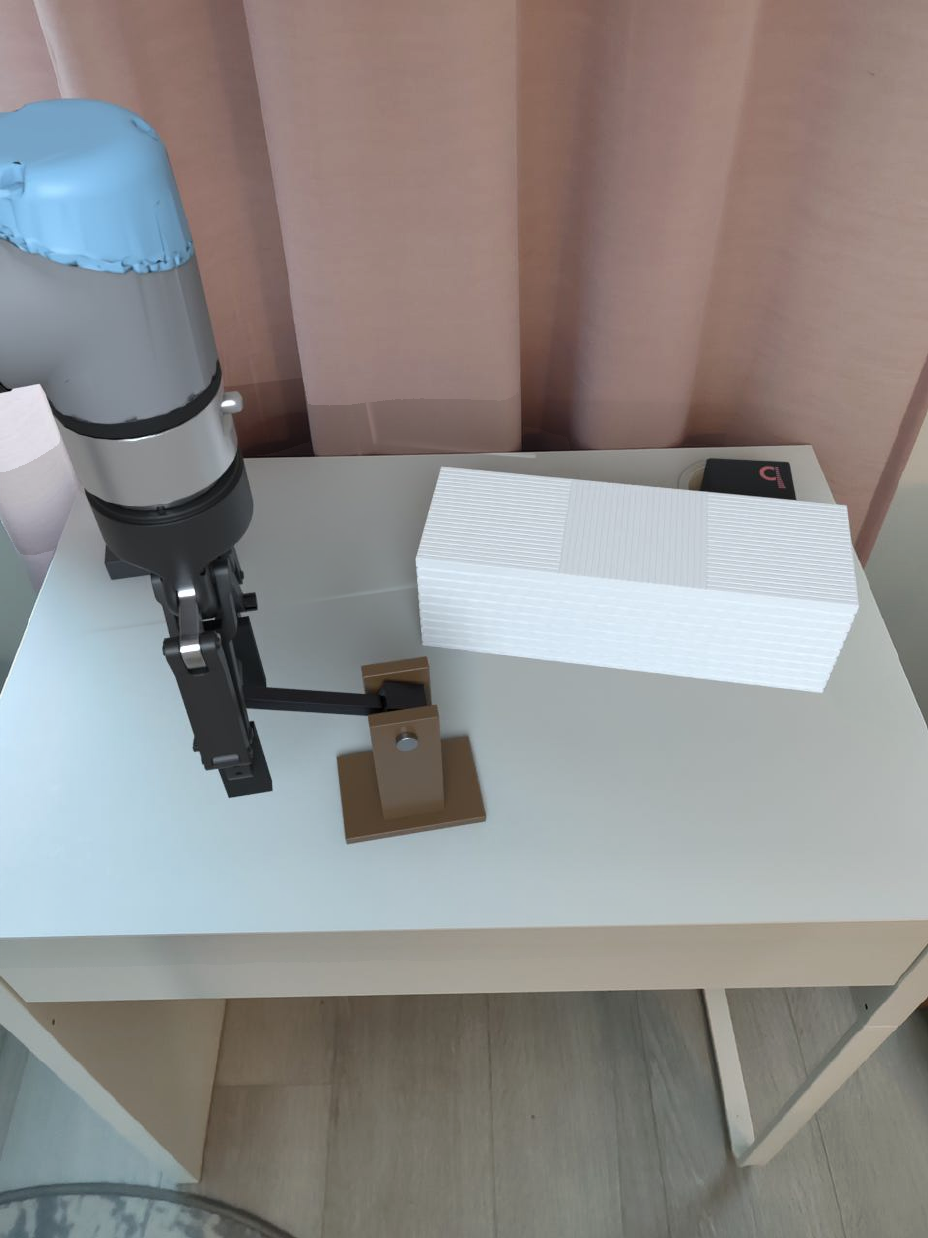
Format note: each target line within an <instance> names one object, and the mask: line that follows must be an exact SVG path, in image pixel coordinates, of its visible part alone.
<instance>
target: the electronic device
mask: <svg viewBox="0 0 928 1238" xmlns="http://www.w3.org/2000/svg"><path fill="white" fill-rule="evenodd" d="M794 485H795V484H794V479H793V474H792V468H791V464H790V463H789V461H777V460H776V461H775V460H755V459H736V458H735V459H733V458H715V457H714V458H712V457H710V458H707V459H706V460H705V464H704V470H703V475H702V479H701V484H700V488H699V491H704V492H714V493H724V494H735V495H745V496H756V497H766V498H776V499H787V500H797V495H796V489H795V486H794Z"/></svg>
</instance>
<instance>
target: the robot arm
mask: <svg viewBox="0 0 928 1238" xmlns="http://www.w3.org/2000/svg"><path fill="white" fill-rule="evenodd" d="M169 157H170V156H169V153H168V151H167V147H166V145H165V144H164V142H163V140H162V139H161V137H160V136H159V134H158V133H157V131H156V130H155V128H154V127H153V126H152V125H151V124H150V123H149V122H148V121H147V120H146V119H145V118H143V117H142V116H140V115H139V114H138V113H137V112H134V111H132V110H131V109H129V108H126V107H124V106H121V105H118V104H116V103H112V102H110V101H109V102H108V101H105V100H99V99H92V98H91V99H90V98H77V97H76V98H72V97H71V98H69V97H68V98H52V99H45V100H38V101H33V102H29V103H25V104H23V106H22V107H21V108H19V109H15V110H13V111H4V112H0V394H4V393H9V392H12V391H13V390H14V389H21V388H27V387H30V386H35V385H40V387H41V389H42V391H43V393H44V394H45V396H46V399H47V402H48V405H49V408H50V411H51V414H52V416H53V419H54V421H55V424H56V427H57V429H58V431H59V435H60V437H61V439H62V442H63V444H64V448H65V449H66V452H67V455H68V457H69V460H70V462H71V465H72V468H73V470H74V473H75V475H76V478H77V480H78V482H79V483H80V484H81V485H82V487H83V489H84V494H85V496H86V499H87V502H88V504H89V507H90V510H91V511H92V514H93V517H94V519H95V522H96V524H97V527H98V529H99V532H100V534H101V537H102V539H103V541H104V543H105V546H106V545H107V546H108V547H109V549H110V550H111V551H112V552H113V553H114V554H115V555H116V556H117V557H119V558H120V559H122V560H123V561H125V562H127V563H129V564H131V565H134V566H136V567H139V568H142V569H145V570H147V571H149V572H150V575H149V576H150V577H149V578H150V583H151V587H152V591H153V595H154V598H155V600H156V602H158V603H159V605H161V607H162V611H163V615H164V619H165V624H166V627H167V631H168V635H169V637H165V638H163V642H162V645H161V646H162V649H161V650H162V656H164V657H165V660H166V662H167V664H168V666H169V668H170V670H171V672H172V673H173V676H174V677H175V678H174V679H175V681H176V684H177V687H178V690H179V693H180V696H181V699H182V702H183V706H184V709H185V712H186V715H187V717H188V721H189V725H190V727H191V730H192V733H193V740H192V747H191V748H192V752H194V753H199V755H200V761H201V765H203V768H204V770H205V771H206V772H207V771H208V772H209V771H214V770H217V771H218V773H219V776H220V778H221V781H222V784H223V787H224V789H225V792H226V794H227V797H228V799H232V798H233V799H234V798H239V797H244V796H250V795H251V796H252V795H257V794H263V793H270V792H273V791H274V789H273V787H274V786H273V779H272V776H271V772H270V769H269V766H268V763H267V759H266V757H265V756H266V755H265V753H264V749H263V746H262V743H261V740H260V736H259V733H258V729H257V726H256V723H255V720H250V719H249V714H248V709H246V704H245V699H244V695H243V690H242V685H241V681H240V676H239V671H238V667H237V662H236V658H237V659H239V660H240V661H241V663H242V675H243V686H258V687H268V686H267V677H266V672H265V670H264V666H263V663H262V658H261V655H260V652H259V651H260V650H259V648H258V644H257V641H256V636H255V633H254V629H253V626H252V622H251V619H250V615H246V616H242V614H243V613H249V612H256V611H258V610H259V604H258V597H257V594H256V592H255V591H253V592H252V591H251V592H246V593H244V592H243V590H242V588H241V585H243V584H244V580H245V573H244V570H242V567H241V565H240V560H239V557H238V554H237V550H236V548H235V545H236V544H237V543H238V542H239V541H240V540H241V539H242V538H243V536H244V535H245V533H246V532H247V531H248V529H249V527H250V524H251V522H252V519H253V515H254V498H253V493H252V490H251V485H250V481H249V477H248V473H247V468H246V464H245V460H244V456H243V453H242V450H241V448H240V446H239V445H238V436H237V432H236V431H237V430H236V428H235V423H234V419H233V415H232V414H236V413H239V412H241V411H242V410H243V408H244V406H245V405H244V399H243V396H242V395H241V393H240V392H239V391H238V390H233V391H232V390H231V391H225V380H224V377H223V371H222V366H221V363H220V357H219V353H218V349H217V344H216V340H215V335H214V331H213V327H212V321H211V317H210V313H209V309H208V308H209V307H208V304H207V303H208V302H207V299H206V294H205V289H204V285H203V280H202V277H201V272H200V267H199V262H198V258H197V254H196V250H195V249H196V248H195V244H194V241H193V240H194V239H193V236H192V232H191V229H190V225H189V221H188V219H187V216H186V212H185V209H184V206H183V201H182V199H181V194H180V192H179V189H178V185H177V181H176V178H175V174H174V170H173V168H172V163H171V161H170V158H169Z"/></svg>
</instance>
